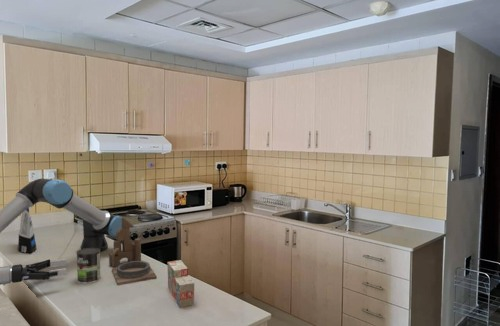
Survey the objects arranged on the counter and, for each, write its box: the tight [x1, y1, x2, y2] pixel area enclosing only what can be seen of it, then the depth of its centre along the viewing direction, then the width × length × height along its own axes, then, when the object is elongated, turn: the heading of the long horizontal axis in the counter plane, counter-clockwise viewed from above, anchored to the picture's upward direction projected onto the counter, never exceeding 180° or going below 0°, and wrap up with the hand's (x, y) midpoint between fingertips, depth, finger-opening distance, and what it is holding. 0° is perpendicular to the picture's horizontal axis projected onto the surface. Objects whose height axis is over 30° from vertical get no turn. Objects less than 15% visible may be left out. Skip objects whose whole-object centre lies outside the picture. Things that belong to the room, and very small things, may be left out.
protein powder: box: [17, 207, 38, 255], centre depth 221 cm, size 10×24×30 cm, turn 39°
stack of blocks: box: [167, 259, 195, 308], centre depth 159 cm, size 21×6×12 cm, turn 25°
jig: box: [111, 260, 157, 286], centre depth 182 cm, size 20×18×4 cm
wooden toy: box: [108, 216, 142, 269], centre depth 197 cm, size 15×7×25 cm, turn 130°
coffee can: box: [76, 248, 101, 285], centre depth 176 cm, size 10×10×14 cm
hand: (66, 266), depth 171 cm, fingers open, 13 cm apart
